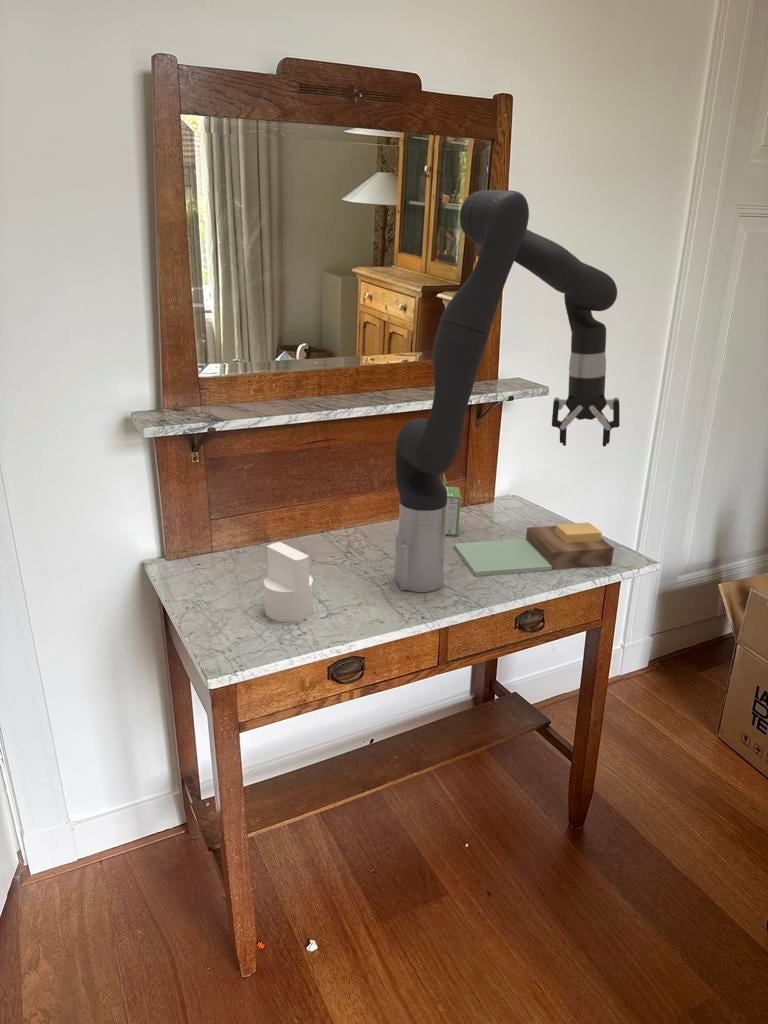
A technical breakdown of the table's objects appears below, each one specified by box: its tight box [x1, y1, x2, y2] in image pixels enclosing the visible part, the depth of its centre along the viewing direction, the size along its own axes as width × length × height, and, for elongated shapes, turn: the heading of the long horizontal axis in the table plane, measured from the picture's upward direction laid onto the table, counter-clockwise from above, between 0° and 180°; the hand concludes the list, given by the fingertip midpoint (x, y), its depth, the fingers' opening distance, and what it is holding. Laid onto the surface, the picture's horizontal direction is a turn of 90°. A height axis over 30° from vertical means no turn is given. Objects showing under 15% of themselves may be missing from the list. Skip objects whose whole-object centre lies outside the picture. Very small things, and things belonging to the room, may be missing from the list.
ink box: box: [442, 472, 462, 537], centre depth 177 cm, size 7×4×13 cm, turn 179°
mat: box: [453, 538, 553, 577], centre depth 164 cm, size 17×15×1 cm
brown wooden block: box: [525, 525, 614, 570], centre depth 167 cm, size 14×14×4 cm
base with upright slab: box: [263, 541, 314, 623], centre depth 139 cm, size 9×9×12 cm
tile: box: [555, 522, 603, 543], centre depth 166 cm, size 8×6×2 cm
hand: (584, 445), depth 166 cm, fingers open, 8 cm apart
